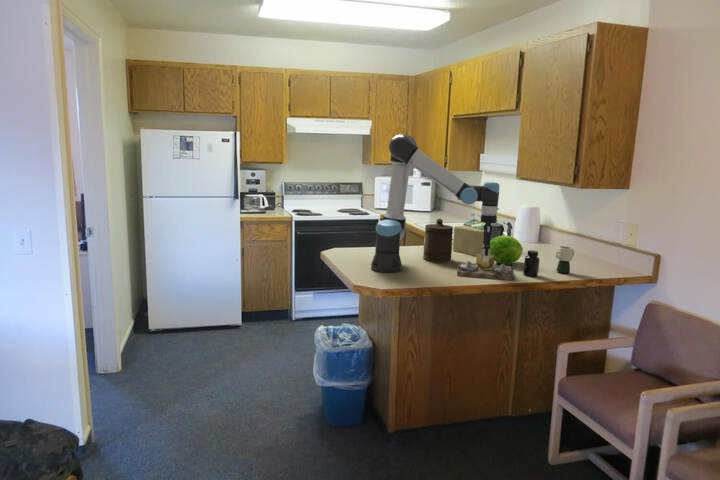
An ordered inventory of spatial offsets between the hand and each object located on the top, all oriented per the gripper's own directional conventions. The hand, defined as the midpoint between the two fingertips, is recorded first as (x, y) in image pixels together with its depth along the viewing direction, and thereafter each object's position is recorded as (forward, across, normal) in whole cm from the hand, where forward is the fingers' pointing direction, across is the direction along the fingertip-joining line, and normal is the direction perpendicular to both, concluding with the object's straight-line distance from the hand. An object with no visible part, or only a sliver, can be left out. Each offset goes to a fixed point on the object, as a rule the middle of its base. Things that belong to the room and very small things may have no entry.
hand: (485, 259), depth 252 cm
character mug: (+6, +11, -39) cm, 41 cm away
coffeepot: (+6, +57, -8) cm, 58 cm away
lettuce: (+6, +22, -12) cm, 26 cm away
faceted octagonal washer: (+3, 0, 0) cm, 3 cm away
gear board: (+6, -3, 0) cm, 7 cm away
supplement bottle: (+6, 0, -22) cm, 23 cm away
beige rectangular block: (+6, +39, +6) cm, 40 cm away
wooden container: (+6, +18, +24) cm, 31 cm away
